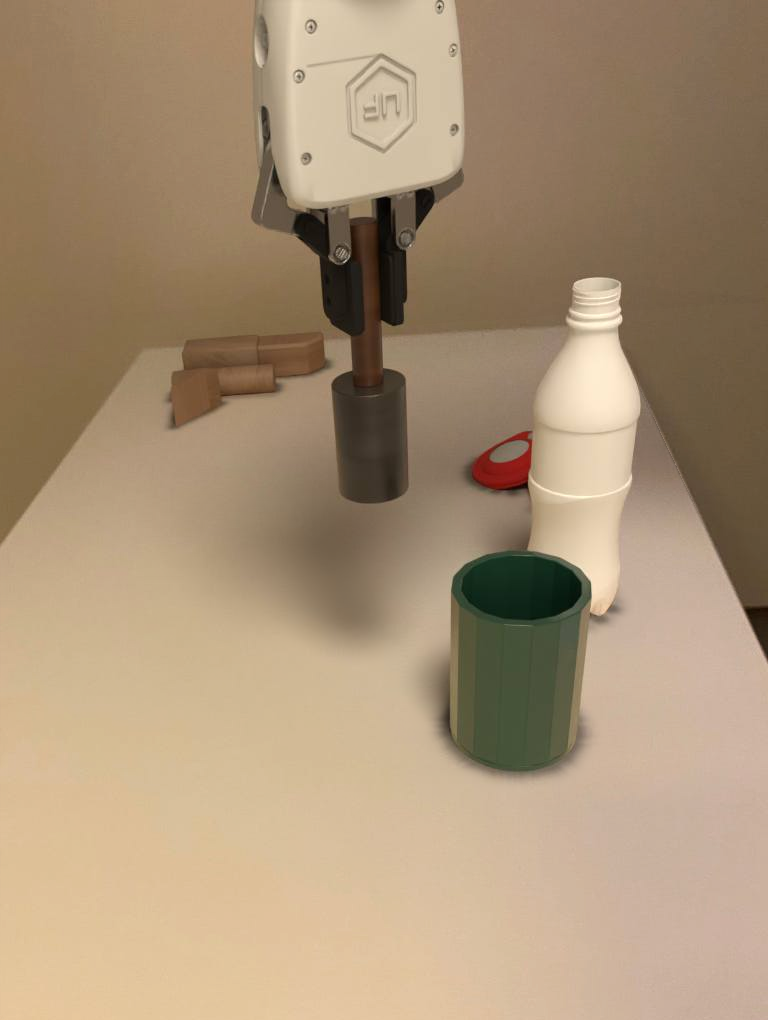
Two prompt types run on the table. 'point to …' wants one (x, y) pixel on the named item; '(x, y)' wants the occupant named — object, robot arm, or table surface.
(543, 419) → the water bottle
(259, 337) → the wooden block set
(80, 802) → the table surface
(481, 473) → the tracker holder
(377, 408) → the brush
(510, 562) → the green faceted cup
